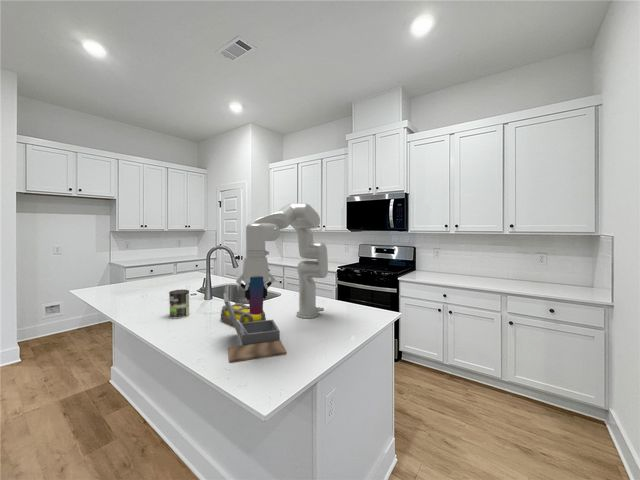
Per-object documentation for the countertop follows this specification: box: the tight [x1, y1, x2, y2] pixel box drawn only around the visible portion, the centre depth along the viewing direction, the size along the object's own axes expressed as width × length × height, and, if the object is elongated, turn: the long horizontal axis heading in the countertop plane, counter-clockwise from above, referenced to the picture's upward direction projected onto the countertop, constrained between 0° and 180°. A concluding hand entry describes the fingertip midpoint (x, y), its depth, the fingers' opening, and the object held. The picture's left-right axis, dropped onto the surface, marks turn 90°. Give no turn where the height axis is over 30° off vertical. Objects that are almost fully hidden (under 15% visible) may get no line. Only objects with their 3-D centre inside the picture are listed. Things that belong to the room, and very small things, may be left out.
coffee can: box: [168, 289, 190, 320], centre depth 163 cm, size 10×10×14 cm
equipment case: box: [236, 319, 281, 346], centre depth 132 cm, size 18×16×12 cm
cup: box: [248, 277, 264, 315], centre depth 116 cm, size 7×7×15 cm
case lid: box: [223, 292, 241, 337], centre depth 128 cm, size 16×16×1 cm
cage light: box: [220, 302, 267, 329], centre depth 153 cm, size 15×8×30 cm
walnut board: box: [227, 340, 287, 364], centre depth 117 cm, size 22×12×1 cm, turn 110°
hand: (256, 298), depth 116 cm, fingers closed on cup, 6 cm apart
